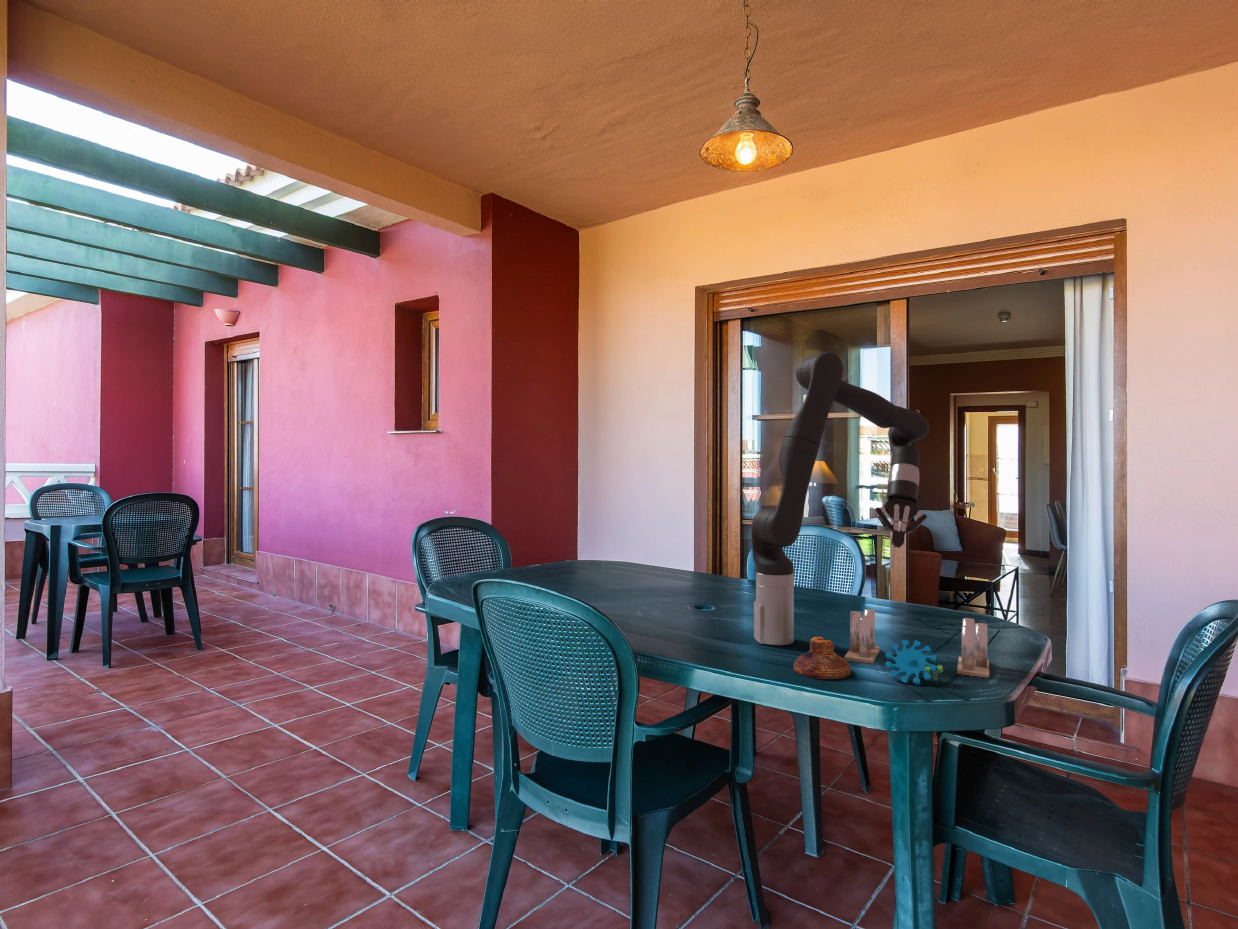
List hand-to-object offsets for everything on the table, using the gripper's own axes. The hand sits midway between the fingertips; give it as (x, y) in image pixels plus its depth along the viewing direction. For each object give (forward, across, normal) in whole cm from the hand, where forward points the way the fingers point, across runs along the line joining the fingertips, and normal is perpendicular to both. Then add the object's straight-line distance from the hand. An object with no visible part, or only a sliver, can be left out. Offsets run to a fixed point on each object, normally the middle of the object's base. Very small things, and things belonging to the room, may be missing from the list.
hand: (897, 546), depth 176 cm
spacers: (+28, +5, -8) cm, 30 cm away
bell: (+38, -15, -18) cm, 45 cm away
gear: (+36, +3, -20) cm, 41 cm away
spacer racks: (+29, +5, -7) cm, 31 cm away
